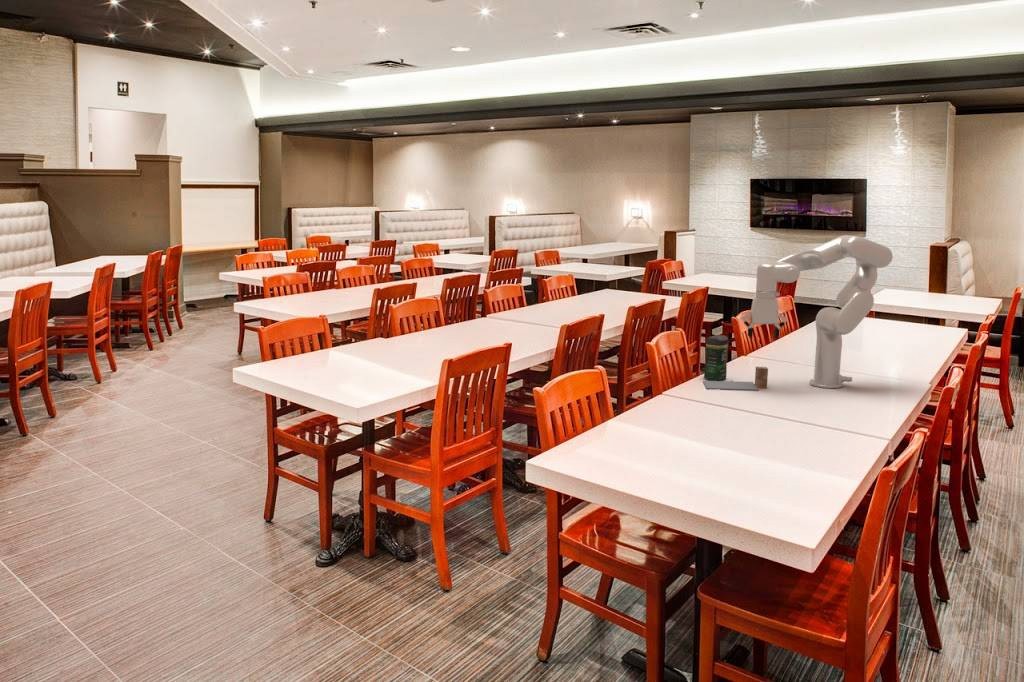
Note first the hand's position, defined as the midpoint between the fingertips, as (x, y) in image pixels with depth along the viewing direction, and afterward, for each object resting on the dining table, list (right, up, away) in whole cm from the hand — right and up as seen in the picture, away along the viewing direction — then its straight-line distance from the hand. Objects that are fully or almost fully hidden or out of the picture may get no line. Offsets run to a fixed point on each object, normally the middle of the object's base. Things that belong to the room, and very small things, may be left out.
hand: (763, 338), depth 299 cm
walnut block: (0, -20, +4) cm, 20 cm away
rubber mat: (-12, -19, +5) cm, 23 cm away
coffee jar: (-14, -17, +18) cm, 29 cm away
